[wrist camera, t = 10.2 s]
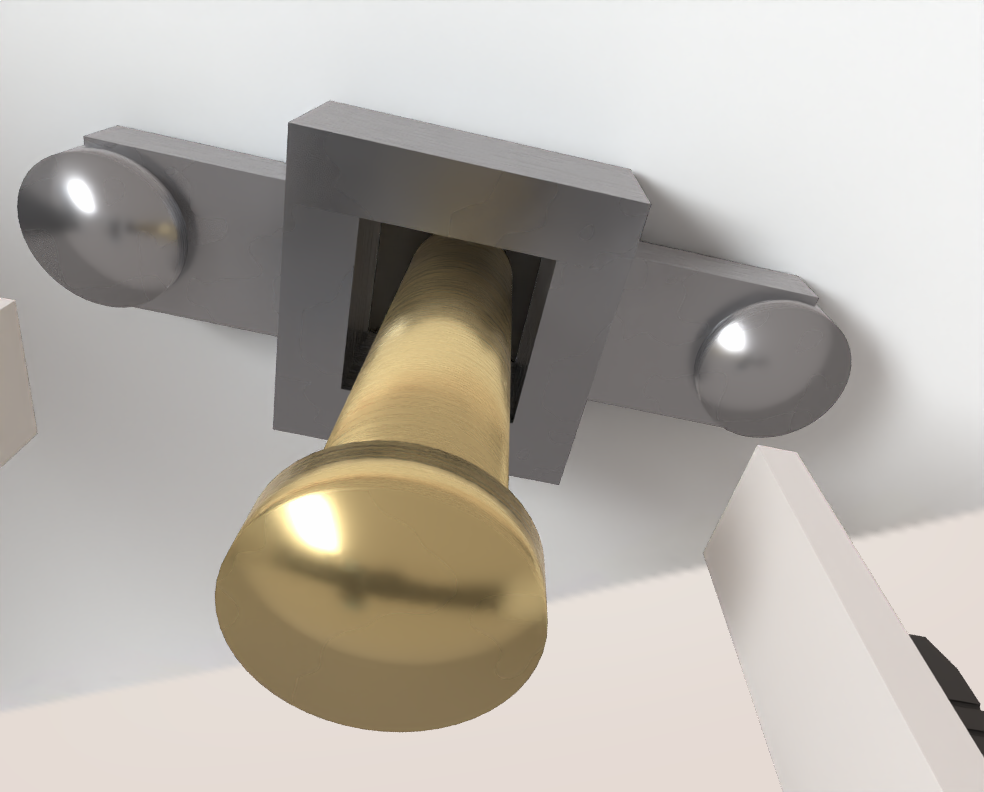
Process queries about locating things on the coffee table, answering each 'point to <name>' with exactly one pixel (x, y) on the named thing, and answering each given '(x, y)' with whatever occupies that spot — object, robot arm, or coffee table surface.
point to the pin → (401, 525)
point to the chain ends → (448, 212)
